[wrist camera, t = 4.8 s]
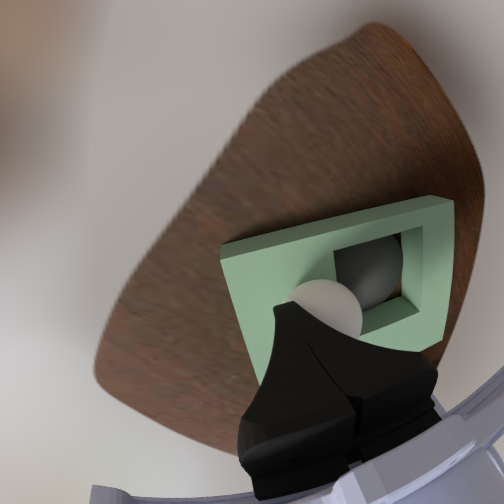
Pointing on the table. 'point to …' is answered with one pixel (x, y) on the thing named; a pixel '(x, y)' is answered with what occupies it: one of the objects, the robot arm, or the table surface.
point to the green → (351, 272)
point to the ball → (330, 305)
